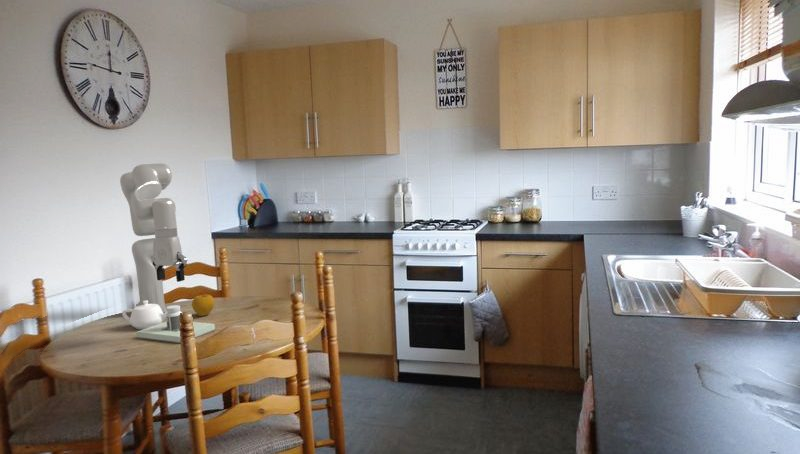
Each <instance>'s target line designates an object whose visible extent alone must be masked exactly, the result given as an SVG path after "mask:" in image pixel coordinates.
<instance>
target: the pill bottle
mask: <svg viewBox="0 0 800 454" xmlns="http://www.w3.org/2000/svg"><path fill="white" fill-rule="evenodd" d="M168 306H169V307H167V312H168V313H167V314H166V319H165V320H166V321H167V329H168V331H174V332H176V331H179V328H180V323H179V315H180V313H182V314H183V312H182V311H181V306H180V304H179V305H178V304H175V305H171V306H170V305H168ZM166 321H165V322H166Z"/></svg>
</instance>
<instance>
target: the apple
mask: <svg viewBox="0 0 800 454" xmlns="http://www.w3.org/2000/svg"><path fill="white" fill-rule="evenodd" d="M215 304H216V303H215V298H214V297H213V296H212V295H210V294H201V295H197V296H195V297H194V298H193V299H192V302H191V306H192V309H193V311H194V312H195V314H197V315H198V316H199V317H205V316H208V315H210V314H211V312H212V311H213V309H214V307H215Z"/></svg>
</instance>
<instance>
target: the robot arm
mask: <svg viewBox="0 0 800 454" xmlns="http://www.w3.org/2000/svg"><path fill="white" fill-rule="evenodd" d="M172 177H173V175H172V171H171V168H170V166H169V165H167V164H166V163H162V162H160V163H143V164H137V165H136V166H135V167H134V168H133V169H132V171H129V172H126V173H123V174H122V175H121V176H120V179H119V182H120V187H121V191H122V193H123V196H124V197H125V199H126V201H127V202H128V206H129V213H130V220H131V221H130V222H131V226H132V231H133V234H134V235H135V236H137V237H146V236H147V237H148V236H154V237H152V238H144V239H138V240H136V241H134V242H133V243H132V244H131V253H132V257H133V260H134V264H135V270H136V277H137V279H136V280H137V286H138V287H137V288H138V296H139V301H138V303H135V307H137V306H140V305H143V304H144V303H143V301H146V300H148V304H158V305H159V306H160V308H161V310H162V312H163V314H164V313H165V312H166V309H167V307H168V306H169V305H165V304H166V303H165V296H164V295H165V293H164V285H163V284H164V283H163V280H165V279H166V271H165V267H172V266H173V267H175V269H176V270H175V276H176V277H175V279H176V282H182V281H185V280H186V279H185V270H186V267H187V263H188V261H189V260H188V257H187V256H185V255H183V251H182V247H181V246H182V245H181V242H180V237H179V236H178V227H177V226H178V225H177V218H176V216H177V215H176V211H177V210H176V204H175V201H174V200H173V199H172V198H170V197H169V198H168V197H161V198H157V197H159V196H160V195H161V194H162V191H163V190H165V189H167V188H168V186H169V185H170V184H171V182H172ZM164 266H165V267H164Z"/></svg>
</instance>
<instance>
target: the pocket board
mask: <svg viewBox="0 0 800 454" xmlns="http://www.w3.org/2000/svg"><path fill="white" fill-rule="evenodd" d="M192 322H193V326H194V333H195V339H197V338H200V337H202V336H204V335H206V334H209V333H211V332H214V331H216V326H215V323H209V322H199V321H197V322H196V321H192ZM136 336H137V339H140V340H142V339H143V340H149V341H151V340H152V341H157V342H158V341H159V342H167V343H174V344H180V331H176V332H174V331H168V329H167V321H163V322H162V323H160V324H157V325H155V326H152V327H149V328H146V329H139V331H136Z"/></svg>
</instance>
